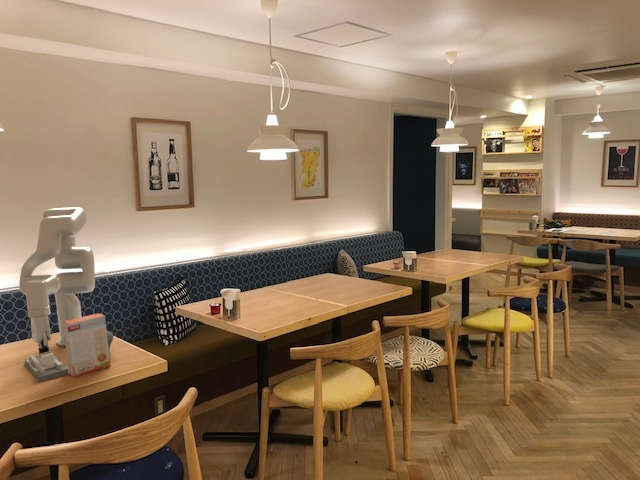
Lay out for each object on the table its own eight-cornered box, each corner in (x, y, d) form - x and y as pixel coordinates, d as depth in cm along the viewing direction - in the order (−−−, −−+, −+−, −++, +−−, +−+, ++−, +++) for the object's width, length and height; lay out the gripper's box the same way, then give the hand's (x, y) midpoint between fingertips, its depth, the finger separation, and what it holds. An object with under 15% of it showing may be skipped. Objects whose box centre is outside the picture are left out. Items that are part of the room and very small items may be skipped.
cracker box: (105, 363, 210) (99, 312, 207) (111, 367, 206) (105, 315, 203) (68, 373, 201) (62, 320, 198) (73, 377, 197) (67, 323, 193)
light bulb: (96, 356, 217) (93, 333, 216) (104, 351, 223) (102, 328, 222) (109, 357, 216) (107, 333, 215) (117, 351, 222) (115, 329, 221)
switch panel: (52, 357, 218) (51, 348, 218) (68, 374, 200) (67, 364, 200) (25, 364, 212) (24, 354, 211) (39, 381, 194) (38, 372, 193)
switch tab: (52, 363, 205) (50, 349, 204) (55, 366, 202) (53, 352, 201) (41, 366, 203) (39, 352, 202) (44, 369, 200) (42, 354, 199)
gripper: (24, 309, 205) (29, 354, 208) (32, 317, 194) (38, 365, 197) (45, 305, 210) (50, 349, 213) (54, 313, 199) (60, 359, 202)
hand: (44, 357), depth 205 cm, fingers closed
